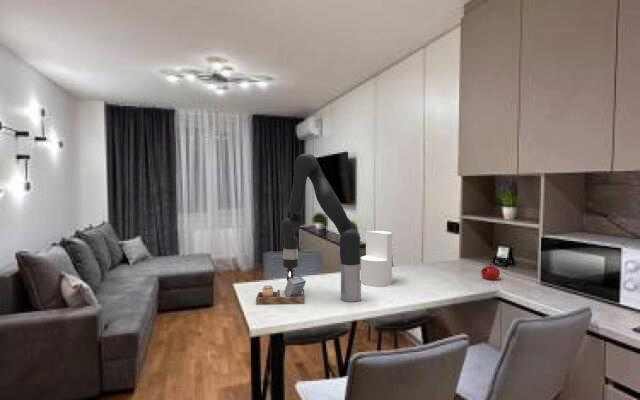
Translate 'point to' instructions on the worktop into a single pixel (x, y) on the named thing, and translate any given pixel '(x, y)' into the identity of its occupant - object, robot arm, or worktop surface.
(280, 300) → the caddy
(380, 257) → the white stepped solid
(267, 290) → the terracotta jar
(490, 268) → the pomegranate
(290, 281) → the medicine box
